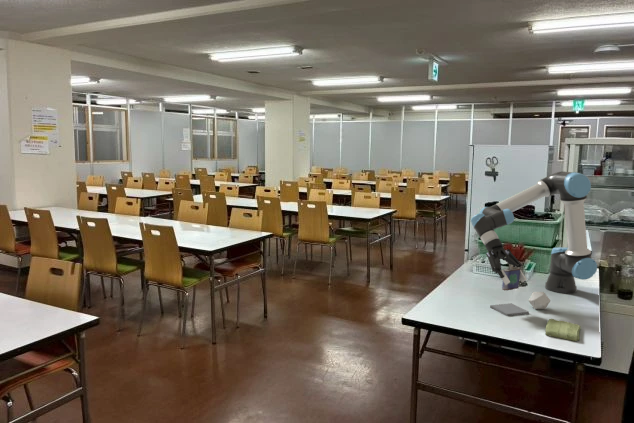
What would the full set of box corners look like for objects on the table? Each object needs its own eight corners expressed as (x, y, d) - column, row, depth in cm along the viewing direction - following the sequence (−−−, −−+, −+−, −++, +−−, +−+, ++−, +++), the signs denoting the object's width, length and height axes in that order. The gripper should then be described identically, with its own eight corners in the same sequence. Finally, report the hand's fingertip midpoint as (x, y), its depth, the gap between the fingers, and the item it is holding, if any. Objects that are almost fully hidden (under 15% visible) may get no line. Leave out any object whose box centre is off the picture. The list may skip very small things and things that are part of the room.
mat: (511, 305, 226) (511, 303, 226) (528, 313, 215) (528, 311, 215) (490, 307, 223) (490, 305, 223) (506, 316, 211) (507, 314, 211)
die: (547, 314, 216) (556, 296, 218) (530, 304, 217) (539, 286, 219) (538, 314, 224) (547, 297, 226) (522, 304, 225) (531, 287, 227)
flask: (505, 291, 214) (507, 266, 212) (499, 289, 216) (501, 265, 215) (520, 288, 218) (522, 264, 217) (514, 286, 221) (516, 262, 219)
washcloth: (581, 329, 198) (581, 322, 198) (579, 343, 183) (579, 336, 183) (547, 322, 205) (547, 315, 205) (542, 336, 190) (543, 328, 190)
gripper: (503, 244, 233) (527, 283, 222) (470, 248, 223) (493, 289, 212) (513, 236, 228) (538, 275, 216) (479, 239, 218) (503, 281, 206)
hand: (516, 282), depth 214 cm, fingers closed on flask, 10 cm apart
